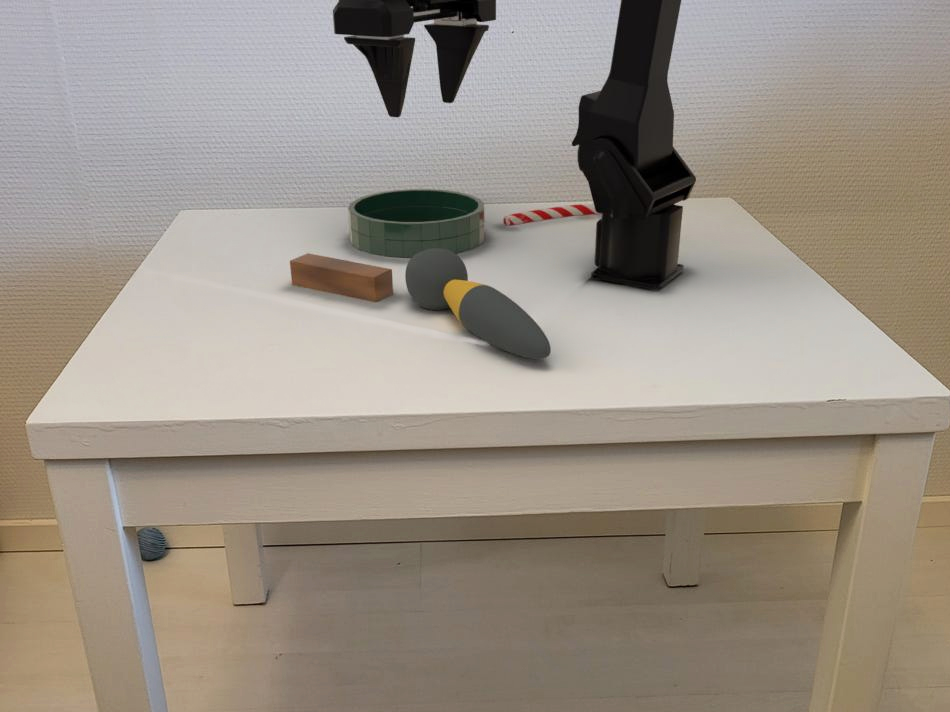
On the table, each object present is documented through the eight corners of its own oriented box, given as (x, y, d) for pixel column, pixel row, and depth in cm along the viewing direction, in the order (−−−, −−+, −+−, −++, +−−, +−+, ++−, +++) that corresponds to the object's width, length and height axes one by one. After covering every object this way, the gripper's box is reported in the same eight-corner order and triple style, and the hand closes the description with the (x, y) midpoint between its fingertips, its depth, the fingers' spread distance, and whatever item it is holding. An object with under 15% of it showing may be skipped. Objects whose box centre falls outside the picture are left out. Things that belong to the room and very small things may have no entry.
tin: (508, 234, 100) (508, 198, 98) (437, 269, 90) (436, 230, 88) (401, 217, 106) (399, 183, 104) (323, 248, 96) (320, 211, 94)
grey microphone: (586, 357, 72) (589, 291, 70) (534, 374, 69) (535, 306, 67) (429, 288, 86) (427, 231, 83) (381, 300, 83) (377, 242, 81)
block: (393, 297, 84) (392, 269, 83) (376, 306, 82) (374, 277, 81) (310, 280, 88) (307, 252, 87) (292, 288, 86) (289, 260, 85)
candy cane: (497, 206, 105) (634, 200, 107) (497, 219, 105) (633, 212, 107) (512, 227, 98) (657, 219, 100) (512, 240, 98) (656, 231, 101)
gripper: (401, -76, 98) (408, 90, 106) (276, -75, 84) (293, 117, 92) (499, -77, 93) (498, 98, 101) (383, -75, 79) (392, 128, 87)
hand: (422, 109), depth 95 cm, fingers open, 9 cm apart
